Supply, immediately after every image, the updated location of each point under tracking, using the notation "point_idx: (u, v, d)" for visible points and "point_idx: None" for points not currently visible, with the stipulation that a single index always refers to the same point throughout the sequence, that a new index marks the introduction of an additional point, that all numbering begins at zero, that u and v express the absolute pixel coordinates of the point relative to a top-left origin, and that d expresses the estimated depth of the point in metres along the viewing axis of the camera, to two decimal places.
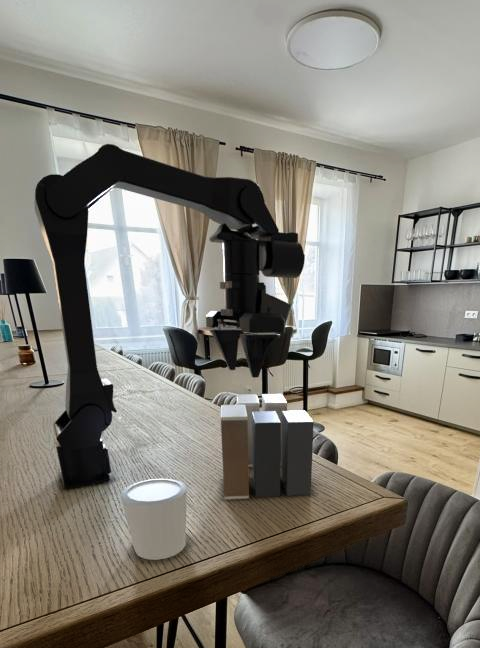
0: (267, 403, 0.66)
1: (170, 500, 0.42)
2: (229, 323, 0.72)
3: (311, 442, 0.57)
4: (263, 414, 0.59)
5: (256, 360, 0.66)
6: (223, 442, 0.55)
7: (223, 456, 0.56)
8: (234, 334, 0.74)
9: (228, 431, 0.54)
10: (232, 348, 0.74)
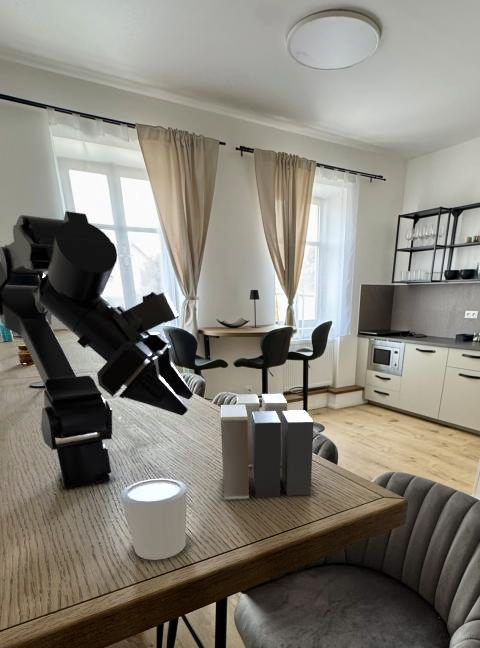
0: (267, 403, 0.66)
1: (170, 500, 0.42)
2: None
3: (311, 442, 0.57)
4: (263, 414, 0.59)
5: (164, 400, 0.50)
6: (223, 442, 0.55)
7: (223, 456, 0.56)
8: (161, 362, 0.58)
9: (228, 431, 0.54)
10: (171, 377, 0.59)
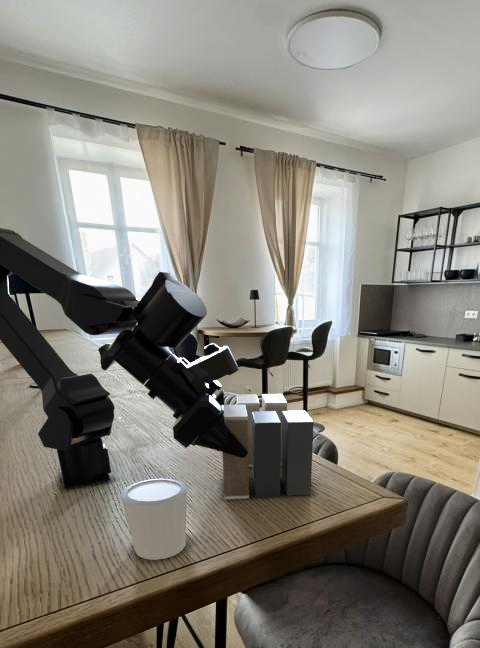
0: (267, 403, 0.66)
1: (170, 500, 0.42)
2: None
3: (311, 442, 0.57)
4: (263, 414, 0.59)
5: (228, 445, 0.54)
6: None
7: (223, 456, 0.56)
8: None
9: None
10: None
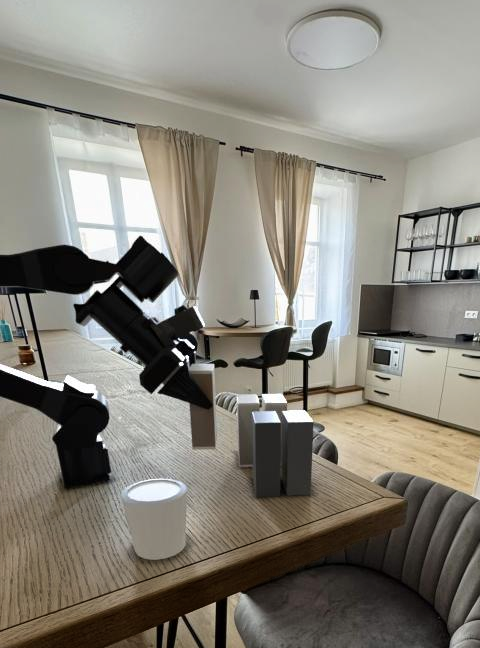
0: (267, 403, 0.66)
1: (170, 500, 0.42)
2: None
3: (311, 442, 0.57)
4: (263, 414, 0.59)
5: (194, 396, 0.59)
6: None
7: (190, 408, 0.61)
8: None
9: None
10: None
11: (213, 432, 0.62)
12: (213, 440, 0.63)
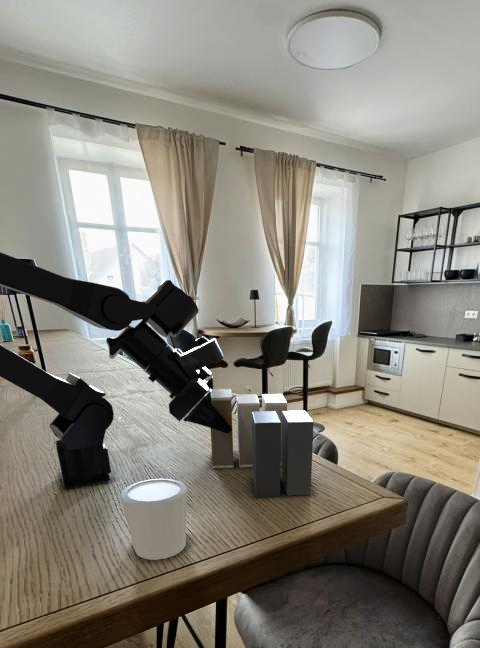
0: (267, 403, 0.66)
1: (170, 500, 0.42)
2: None
3: (311, 442, 0.57)
4: (263, 414, 0.59)
5: (215, 422, 0.64)
6: None
7: (211, 431, 0.67)
8: None
9: None
10: None
11: (232, 452, 0.68)
12: (231, 459, 0.69)
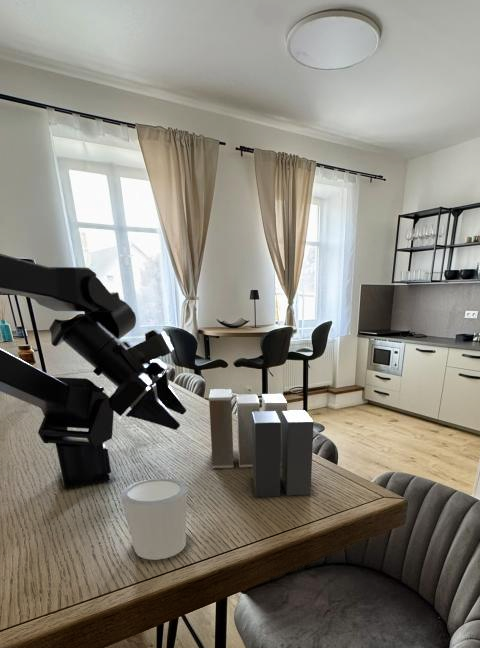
0: (267, 403, 0.66)
1: (170, 500, 0.42)
2: None
3: (311, 442, 0.57)
4: (263, 414, 0.59)
5: (161, 418, 0.63)
6: (211, 419, 0.66)
7: (211, 431, 0.67)
8: (160, 384, 0.71)
9: (215, 410, 0.65)
10: (168, 396, 0.72)
11: (232, 452, 0.68)
12: (231, 459, 0.69)
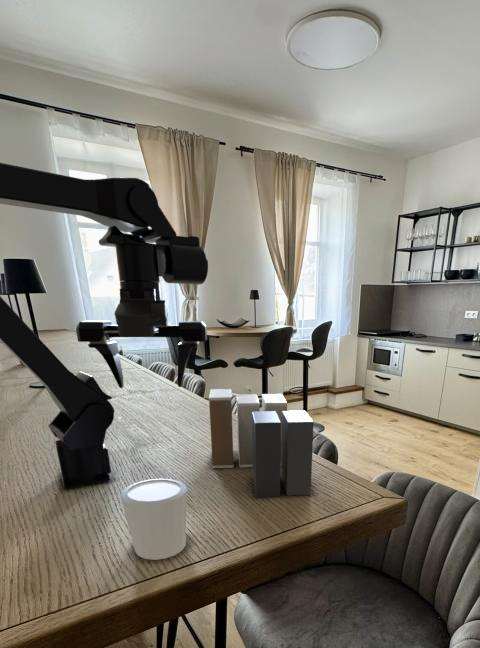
0: (267, 403, 0.66)
1: (170, 500, 0.42)
2: None
3: (311, 442, 0.57)
4: (263, 414, 0.59)
5: None
6: (211, 419, 0.66)
7: (211, 431, 0.67)
8: None
9: (215, 410, 0.65)
10: None
11: (232, 452, 0.68)
12: (231, 459, 0.69)
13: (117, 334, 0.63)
